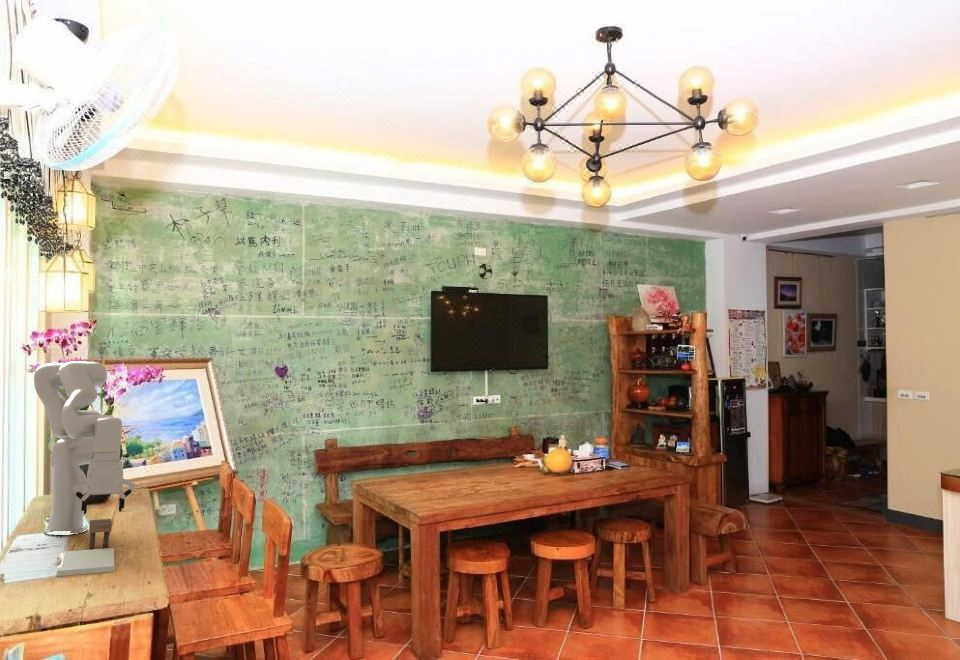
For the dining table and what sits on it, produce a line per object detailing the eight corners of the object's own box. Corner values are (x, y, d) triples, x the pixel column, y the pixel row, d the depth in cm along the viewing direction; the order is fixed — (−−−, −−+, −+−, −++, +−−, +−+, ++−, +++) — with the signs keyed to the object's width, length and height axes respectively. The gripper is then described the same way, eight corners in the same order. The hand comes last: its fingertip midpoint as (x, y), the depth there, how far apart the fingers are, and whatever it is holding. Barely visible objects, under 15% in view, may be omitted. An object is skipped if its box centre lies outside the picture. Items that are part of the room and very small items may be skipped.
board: (60, 556, 203) (60, 551, 203) (113, 552, 210) (113, 547, 210) (56, 576, 188) (56, 570, 188) (114, 571, 194) (114, 566, 194)
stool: (87, 545, 215) (90, 520, 216) (109, 544, 218) (111, 518, 219) (87, 551, 210) (89, 524, 210) (109, 549, 213) (111, 523, 213)
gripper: (74, 459, 208) (70, 516, 207) (137, 457, 216) (134, 512, 215) (74, 456, 214) (71, 511, 213) (136, 454, 222) (133, 507, 222)
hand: (102, 512), depth 214 cm, fingers open, 9 cm apart
